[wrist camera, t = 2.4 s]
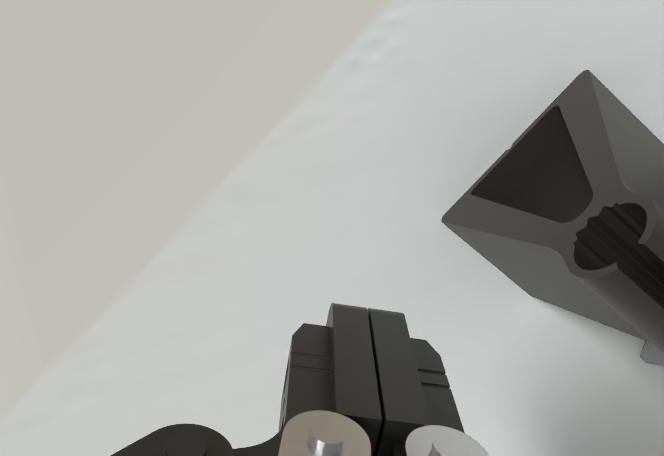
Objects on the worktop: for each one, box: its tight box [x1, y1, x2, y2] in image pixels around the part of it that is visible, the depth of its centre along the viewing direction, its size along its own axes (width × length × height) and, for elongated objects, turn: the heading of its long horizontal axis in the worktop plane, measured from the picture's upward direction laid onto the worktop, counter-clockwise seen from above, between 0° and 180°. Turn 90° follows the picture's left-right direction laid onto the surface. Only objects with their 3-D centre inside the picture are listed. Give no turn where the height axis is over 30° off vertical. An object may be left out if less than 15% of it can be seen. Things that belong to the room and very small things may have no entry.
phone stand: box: [442, 70, 664, 353], centre depth 23 cm, size 9×6×12 cm, turn 140°
